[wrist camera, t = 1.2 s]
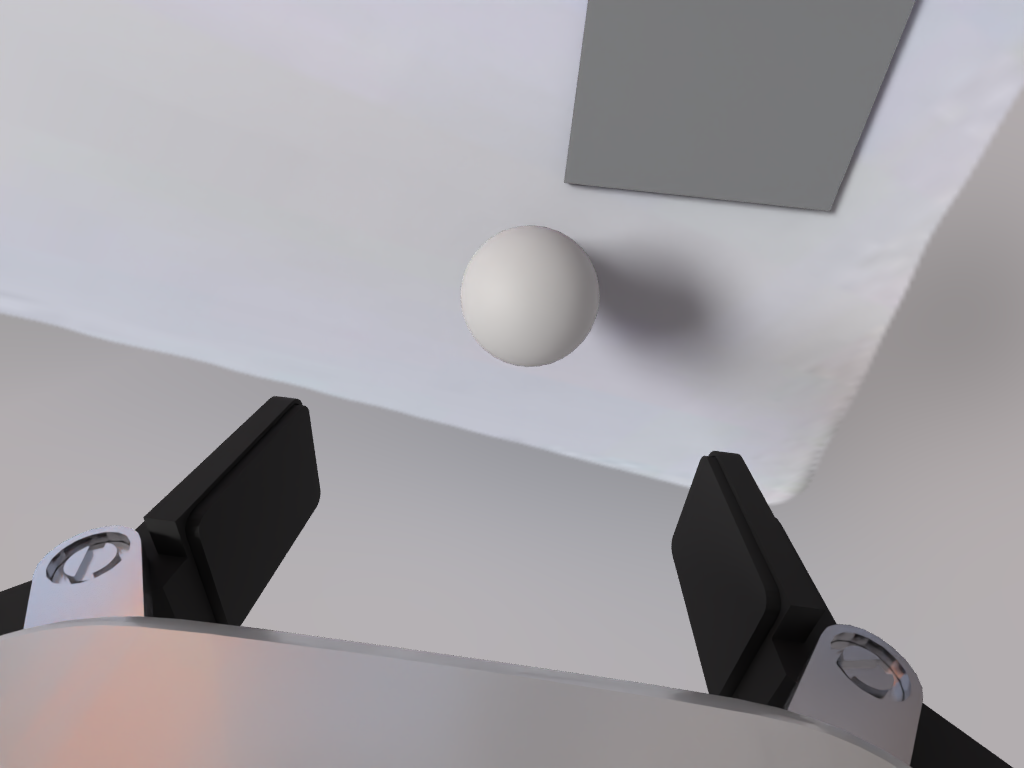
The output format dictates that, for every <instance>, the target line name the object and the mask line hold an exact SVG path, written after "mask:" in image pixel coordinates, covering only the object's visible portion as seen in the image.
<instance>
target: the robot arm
mask: <svg viewBox="0 0 1024 768" xmlns="http://www.w3.org/2000/svg"><path fill="white" fill-rule="evenodd" d="M319 499H320V484H319V478H318V471H317V464H316V457H315V450H314V443H313V436H312V429H311V422H310V415H309V410H308V408H307V407H306V406H303V405H302V403H301V401H300V400H299V399H294V398H286V397H277V396H274V397H272V398H270V399H269V400H268V401H267V402H266V403H265V404H264V405H263V406H261V407H260V408H259V409H258V410H257V411H256V412H255V413H254V414H253V415H252V416H251V417H250V418H249V419H248V420H247V421H246V422H245V423H243V425H241V426H240V427H239V428H238V429H237V430H236V431H235V432H234V433H233V434H232V435H231V436H230V437H229V438H227V439H226V440H225V441H224V442H223V443H222V444H221V445H220V446H219V447H218V448H217V449H216V450H215V451H214V452H213V453H212V454H211V455H209V456H208V457H207V458H206V459H205V460H204V461H203V462H202V463H201V464H200V465H199V466H198V467H197V468H196V469H194V470H193V471H192V472H191V473H190V474H189V475H188V476H187V477H186V478H185V479H184V480H183V481H182V482H181V483H180V484H179V485H177V486H176V487H175V488H174V489H173V490H172V491H171V492H170V493H169V494H168V495H167V496H166V497H165V498H164V499H163V500H161V501H160V502H159V503H158V504H157V505H156V506H155V507H154V508H153V509H152V510H151V511H150V512H149V513H148V514H147V515H146V516H144V520H145V521H144V522H143V523H142V524H141V525H140V526H139V527H138V528H137V529H136V530H133V529H132V528H129V527H124V526H105V527H101V528H96V529H91V530H89V531H86V532H83V533H81V534H78V535H75V536H74V537H72V538H70V539H68V540H66V541H64V542H62V543H61V544H59V545H58V546H57V547H55V548H54V549H53V550H51V551H50V552H49V553H47V554H46V556H45V557H44V558H43V559H42V560H41V561H40V562H39V564H38V565H37V567H36V570H35V572H34V574H33V579H32V581H29V582H26V583H23V584H21V585H18V586H15V587H12V588H10V589H7V590H4V591H2V592H0V768H1012V767H1011V766H1010V765H1008V764H1007V763H1006V762H1004V761H1003V760H1002V759H1000V758H999V757H997V756H996V755H995V754H993V753H992V752H990V751H989V750H988V749H986V748H985V747H983V746H982V745H980V744H979V743H978V742H976V741H975V740H974V739H972V738H971V737H969V736H968V735H967V734H965V733H964V732H962V731H961V730H960V729H958V728H957V727H955V726H954V725H953V724H951V723H950V722H948V721H947V720H946V719H944V718H943V717H942V716H940V715H939V714H937V713H936V712H934V711H933V710H932V709H930V708H929V707H928V706H926V705H925V704H923V703H922V702H923V692H922V686H921V684H920V682H919V679H918V677H917V675H916V673H915V672H914V670H913V669H912V668H911V666H910V665H909V664H908V662H907V661H906V660H905V659H904V658H903V657H902V656H901V655H900V654H899V653H898V652H897V651H896V650H895V649H894V648H893V647H891V646H890V645H889V644H887V643H886V642H885V641H883V640H882V639H880V638H879V637H877V636H875V635H874V634H872V633H870V632H868V631H866V630H864V629H861V628H858V627H854V626H851V625H843V624H836V622H835V620H834V619H833V617H832V615H831V613H830V611H829V610H828V608H827V606H826V604H825V602H824V601H823V599H822V597H821V595H820V593H819V592H818V590H817V588H816V586H815V584H814V583H813V581H812V579H811V577H810V576H809V574H808V572H807V570H806V568H805V567H804V565H803V563H802V561H801V559H800V558H799V556H798V554H797V552H796V550H795V548H794V547H793V545H792V543H791V541H790V539H789V538H788V536H787V534H786V532H785V530H784V529H783V527H782V525H781V523H780V522H779V521H778V519H777V518H775V517H774V515H773V513H772V511H771V509H770V508H769V506H768V504H767V502H766V500H765V498H764V497H763V495H762V493H761V491H760V489H759V488H758V486H757V484H756V482H755V480H754V478H753V477H752V475H751V473H750V471H749V469H748V467H747V466H746V464H745V462H744V460H743V458H742V457H741V456H740V455H739V454H735V453H727V452H719V451H712V452H711V453H710V454H709V456H703V457H702V458H701V460H700V462H699V465H698V468H697V471H696V473H695V476H694V479H693V482H692V485H691V487H690V490H689V493H688V496H687V499H686V501H685V504H684V507H683V510H682V513H681V516H680V518H679V521H678V524H677V527H676V529H675V532H674V535H673V538H672V554H673V559H674V563H675V566H676V570H677V574H678V578H679V581H680V585H681V589H682V593H683V597H684V601H685V604H686V608H687V612H688V616H689V620H690V624H691V627H692V631H693V635H694V639H695V643H696V646H697V650H698V654H699V658H700V662H701V665H702V669H703V673H704V677H705V680H706V685H707V688H708V692H709V694H706V693H699V692H694V691H688V690H682V689H676V688H670V687H664V686H658V685H652V684H645V683H638V682H632V681H625V680H618V679H611V678H605V677H598V676H591V675H584V674H578V673H571V672H564V671H557V670H550V669H544V668H537V667H530V666H523V665H516V664H510V663H503V662H495V661H488V660H481V659H474V658H468V657H461V656H454V655H446V654H439V653H432V652H426V651H418V650H411V649H404V648H397V647H390V646H383V645H376V644H369V643H361V642H354V641H346V640H339V639H332V638H325V637H318V636H310V635H303V634H296V633H288V632H281V631H273V630H266V629H259V628H251V627H242V626H241V624H242V623H243V621H244V620H245V618H246V616H247V615H248V613H249V612H250V610H251V609H252V607H253V606H254V604H255V602H256V601H257V599H258V598H259V596H260V595H261V593H262V592H263V590H264V588H265V587H266V585H267V583H268V582H269V581H270V579H271V577H272V576H273V574H274V572H275V571H276V570H277V568H278V566H279V565H280V563H281V562H282V560H283V559H284V557H285V555H286V553H287V552H288V551H289V549H290V548H291V546H292V545H293V543H294V541H295V540H296V538H297V537H298V535H299V534H300V532H301V530H302V529H303V527H304V526H305V524H306V522H307V521H308V519H309V518H310V516H311V515H312V513H313V512H314V510H315V509H316V507H317V505H318V502H319Z"/></svg>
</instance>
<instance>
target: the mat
mask: <svg viewBox="0 0 1024 768" xmlns="http://www.w3.org/2000/svg"><path fill="white" fill-rule="evenodd" d="M915 1H916V0H588V6H587V13H586V21H585V28H584V36H583V44H582V51H581V59H580V66H579V74H578V81H577V89H576V96H575V104H574V112H573V119H572V127H571V134H570V142H569V149H568V157H567V164H566V172H565V179H564V183H570V184H580V185H589V186H598V187H608V188H617V189H627V190H636V191H645V192H655V193H664V194H674V195H683V196H692V197H702V198H711V199H721V200H730V201H739V202H749V203H758V204H768V205H777V206H786V207H796V208H805V209H815V210H824V211H830V210H831V207H832V205H833V202H834V200H835V197H836V195H837V192H838V190H839V188H840V185H841V183H842V180H843V178H844V175H845V173H846V170H847V168H848V165H849V163H850V161H851V158H852V156H853V153H854V151H855V148H856V146H857V143H858V141H859V138H860V136H861V134H862V131H863V129H864V126H865V124H866V121H867V119H868V116H869V114H870V111H871V109H872V106H873V104H874V102H875V99H876V97H877V94H878V92H879V89H880V87H881V84H882V82H883V79H884V77H885V75H886V72H887V70H888V67H889V65H890V62H891V60H892V57H893V55H894V52H895V50H896V48H897V45H898V43H899V40H900V38H901V35H902V33H903V30H904V28H905V25H906V23H907V21H908V18H909V16H910V13H911V11H912V8H913V6H914V3H915Z"/></svg>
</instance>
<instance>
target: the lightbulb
mask: <svg viewBox="0 0 1024 768" xmlns="http://www.w3.org/2000/svg"><path fill="white" fill-rule="evenodd" d="M599 302H600V290H599V284H598V280H597V275H596V271H595V269H594V267H593V265H592V262H591V260H590V258H589V257H588V256H587V254H586V253H585V252H584V250H583V249H582V248H581V247H580V246H579V245H578V244H577V243H576V242H574V241H573V240H572V239H571V238H569V237H568V236H566V235H564V234H562V233H561V232H559V231H556V230H553V229H550V228H547V227H540V226H532V225H530V226H519V227H514V228H511V229H508V230H504V231H502V232H500V233H498V234H496V235H495V236H493V237H491V238H490V239H489V240H487V241H486V242H485V243H484V244H483V245H482V246H480V248H479V249H478V250H477V252H476V253H475V254H474V256H473V257H472V258H471V260H470V262H469V264H468V266H467V268H466V270H465V272H464V276H463V280H462V284H461V306H462V312H463V316H464V319H465V322H466V324H467V327H468V329H469V331H470V332H471V334H472V335H473V337H474V339H475V340H476V341H477V342H478V344H479V345H480V346H481V347H482V348H483V349H484V350H485V351H487V352H488V353H489V354H491V355H492V356H493V357H495V358H497V359H499V360H501V361H503V362H506V363H509V364H513V365H517V366H525V367H533V366H542V365H547V364H551V363H553V362H556V361H558V360H560V359H562V358H564V357H565V356H567V355H568V354H570V353H571V352H573V351H574V350H575V349H576V348H577V347H578V346H579V345H580V344H581V343H582V342H583V341H584V340H585V338H586V337H587V335H588V334H589V332H590V331H591V328H592V326H593V324H594V321H595V319H596V316H597V313H598V308H599Z"/></svg>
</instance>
